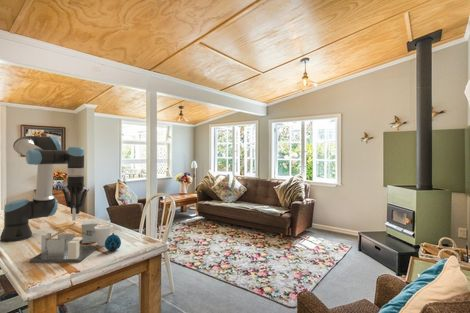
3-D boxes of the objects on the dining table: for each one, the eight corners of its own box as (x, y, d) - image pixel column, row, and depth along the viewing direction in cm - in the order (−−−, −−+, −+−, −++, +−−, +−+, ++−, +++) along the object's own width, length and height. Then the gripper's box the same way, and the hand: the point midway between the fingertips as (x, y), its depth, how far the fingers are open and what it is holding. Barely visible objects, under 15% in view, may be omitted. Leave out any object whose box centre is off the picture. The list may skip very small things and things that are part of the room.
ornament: (104, 253, 140) (104, 235, 140) (104, 250, 144) (105, 232, 144) (120, 251, 143) (121, 233, 143) (120, 248, 148) (121, 231, 147)
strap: (45, 241, 134) (44, 240, 134) (48, 240, 136) (47, 238, 136) (75, 223, 135) (75, 222, 135) (77, 222, 137) (77, 221, 137)
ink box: (83, 239, 161) (83, 220, 160) (98, 237, 164) (98, 219, 164) (81, 243, 153) (81, 224, 153) (97, 242, 156) (97, 223, 156)
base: (29, 262, 126) (30, 240, 126) (53, 248, 144) (53, 229, 144) (80, 262, 128) (80, 240, 128) (96, 248, 146) (97, 229, 146)
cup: (98, 241, 157) (98, 224, 157) (115, 241, 158) (115, 224, 157) (90, 248, 147) (91, 229, 147) (108, 247, 148) (108, 229, 147)
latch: (67, 259, 128) (68, 241, 128) (74, 253, 134) (75, 237, 134) (76, 259, 128) (76, 241, 128) (82, 253, 134) (83, 237, 134)
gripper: (58, 176, 132) (58, 221, 132) (84, 176, 133) (84, 221, 133) (67, 175, 139) (66, 218, 140) (91, 175, 140) (91, 218, 140)
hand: (75, 219), depth 136 cm, fingers closed
